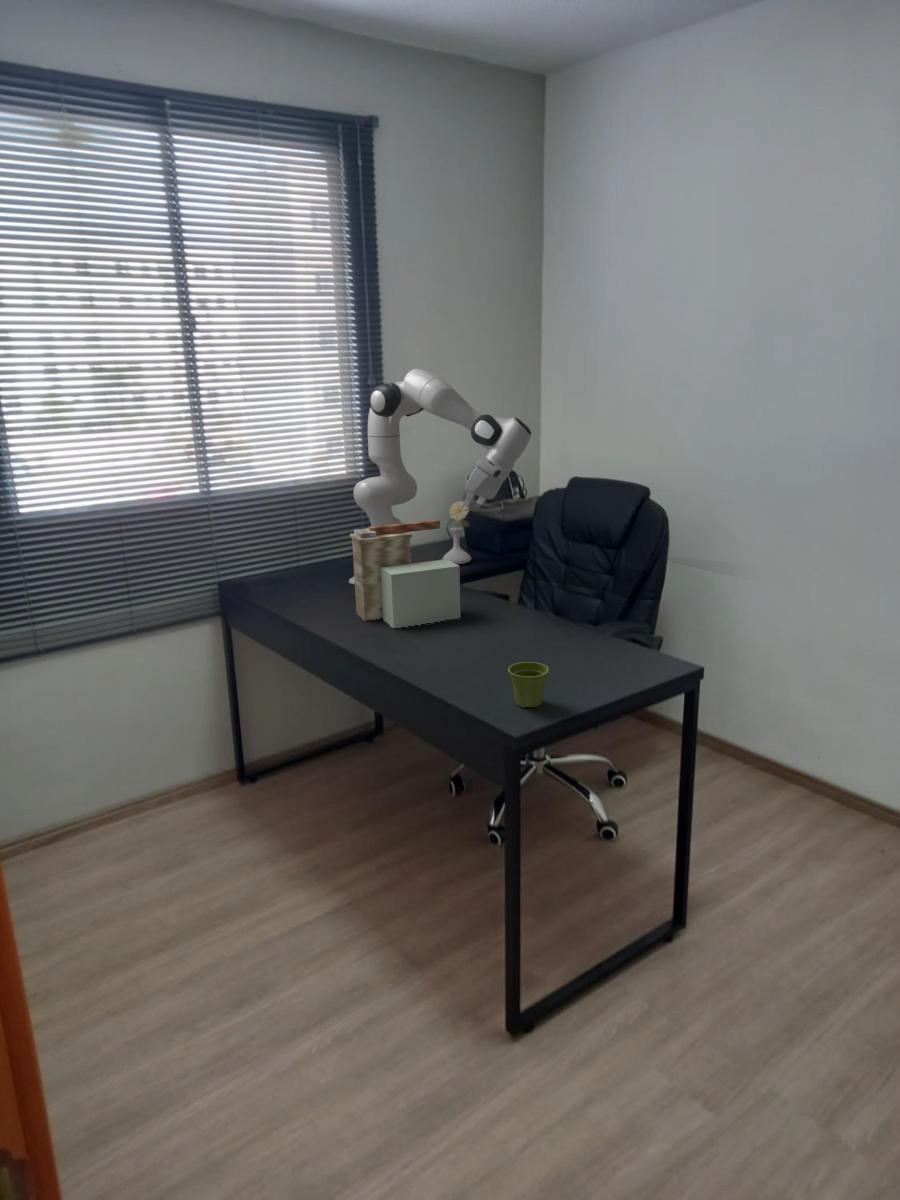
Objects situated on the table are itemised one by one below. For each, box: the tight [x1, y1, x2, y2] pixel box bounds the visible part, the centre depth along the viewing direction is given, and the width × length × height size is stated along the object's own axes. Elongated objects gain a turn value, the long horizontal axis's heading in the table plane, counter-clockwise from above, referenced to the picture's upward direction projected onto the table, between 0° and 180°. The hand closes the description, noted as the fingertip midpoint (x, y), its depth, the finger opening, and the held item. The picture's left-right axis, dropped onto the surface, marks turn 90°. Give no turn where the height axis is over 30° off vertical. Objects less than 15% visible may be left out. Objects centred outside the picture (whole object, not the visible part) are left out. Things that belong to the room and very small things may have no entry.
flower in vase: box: [441, 500, 472, 565], centre depth 324 cm, size 13×11×25 cm
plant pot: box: [507, 661, 550, 708], centre depth 195 cm, size 9×9×9 cm
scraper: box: [353, 519, 441, 539], centre depth 261 cm, size 27×7×2 cm, turn 113°
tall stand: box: [349, 532, 413, 622], centre depth 263 cm, size 17×10×26 cm, turn 113°
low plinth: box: [381, 559, 462, 629], centre depth 257 cm, size 22×10×17 cm, turn 113°
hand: (470, 507), depth 257 cm, fingers open, 8 cm apart
